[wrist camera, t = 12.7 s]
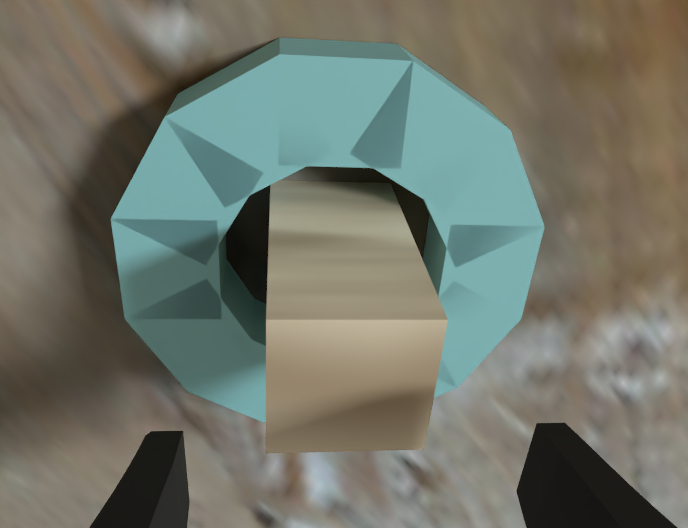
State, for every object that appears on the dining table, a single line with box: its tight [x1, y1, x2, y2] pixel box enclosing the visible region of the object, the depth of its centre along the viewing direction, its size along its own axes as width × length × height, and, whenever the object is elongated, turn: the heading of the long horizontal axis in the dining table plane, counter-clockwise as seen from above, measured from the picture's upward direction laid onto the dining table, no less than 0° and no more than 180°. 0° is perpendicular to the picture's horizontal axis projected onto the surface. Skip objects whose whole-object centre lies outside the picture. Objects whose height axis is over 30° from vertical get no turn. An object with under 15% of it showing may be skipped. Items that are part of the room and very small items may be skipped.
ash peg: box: [266, 180, 448, 453], centre depth 18 cm, size 4×4×8 cm
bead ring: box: [111, 38, 545, 423], centre depth 20 cm, size 13×13×2 cm
